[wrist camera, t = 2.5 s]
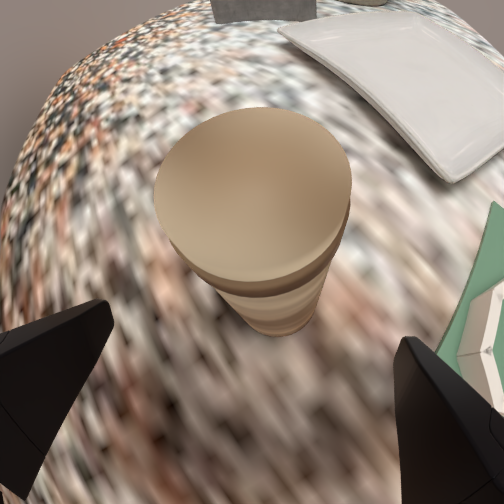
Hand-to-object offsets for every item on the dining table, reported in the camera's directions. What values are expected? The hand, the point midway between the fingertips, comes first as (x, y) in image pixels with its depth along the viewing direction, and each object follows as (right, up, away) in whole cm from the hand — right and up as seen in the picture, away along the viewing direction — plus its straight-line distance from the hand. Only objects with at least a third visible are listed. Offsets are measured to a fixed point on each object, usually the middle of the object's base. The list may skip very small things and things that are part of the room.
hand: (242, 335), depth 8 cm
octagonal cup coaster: (+21, -3, +7) cm, 22 cm away
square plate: (+21, +23, +18) cm, 36 cm away
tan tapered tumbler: (+2, -1, +11) cm, 11 cm away
